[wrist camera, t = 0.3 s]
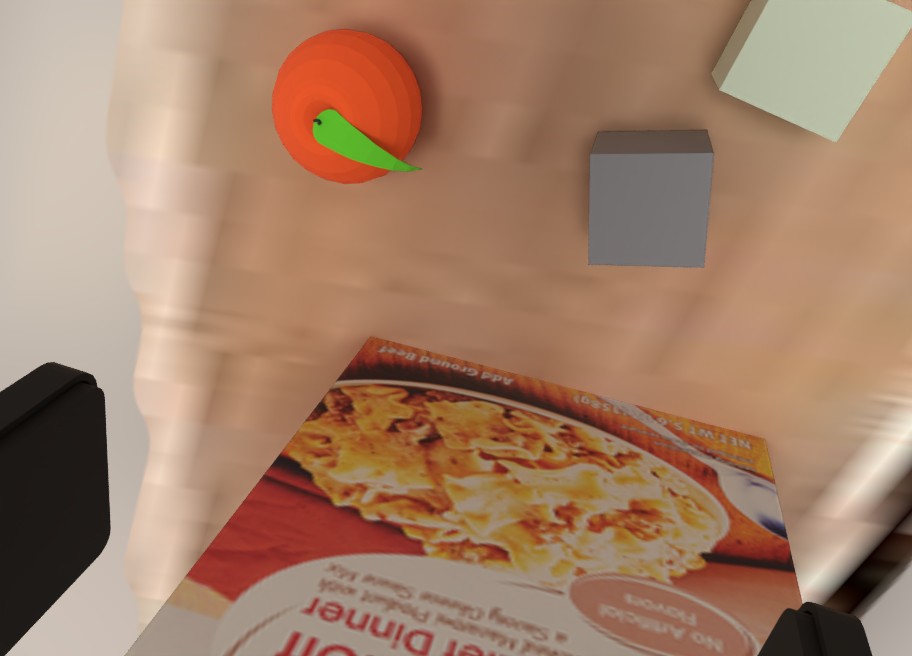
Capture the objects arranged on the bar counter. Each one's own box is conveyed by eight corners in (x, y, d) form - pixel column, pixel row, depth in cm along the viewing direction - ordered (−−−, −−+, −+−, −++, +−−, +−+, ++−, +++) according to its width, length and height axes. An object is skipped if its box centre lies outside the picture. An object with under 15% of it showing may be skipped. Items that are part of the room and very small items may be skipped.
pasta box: (765, 439, 41) (956, 1285, 15) (718, 547, 45) (804, 1374, 18) (370, 336, 44) (-49, 880, 18) (358, 445, 48) (-4, 1026, 22)
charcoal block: (598, 131, 36) (590, 154, 32) (707, 129, 35) (713, 153, 30) (596, 230, 38) (588, 264, 34) (698, 231, 37) (704, 267, 33)
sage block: (772, -42, 31) (791, -42, 27) (882, 7, 31) (919, 14, 27) (710, 73, 34) (719, 89, 29) (812, 119, 34) (835, 142, 29)
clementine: (482, 88, 36) (446, 114, 30) (414, 201, 40) (369, 245, 34) (345, -6, 36) (280, 0, 30) (288, 116, 39) (219, 144, 33)
